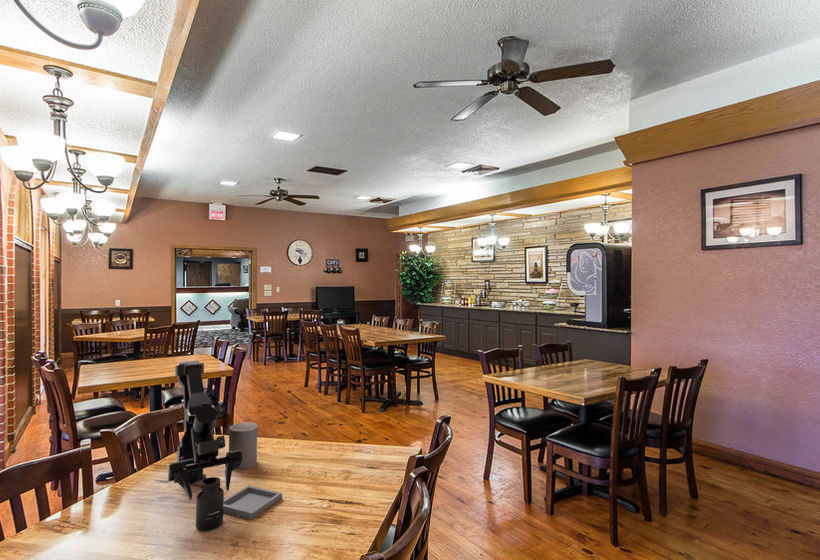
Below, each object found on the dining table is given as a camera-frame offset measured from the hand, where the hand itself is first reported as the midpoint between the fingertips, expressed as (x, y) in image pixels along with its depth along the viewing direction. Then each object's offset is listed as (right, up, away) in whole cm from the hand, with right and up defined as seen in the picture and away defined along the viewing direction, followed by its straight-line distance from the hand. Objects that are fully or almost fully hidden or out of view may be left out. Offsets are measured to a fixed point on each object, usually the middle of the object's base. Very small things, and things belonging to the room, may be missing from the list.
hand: (209, 494), depth 121 cm
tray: (+7, -8, +11) cm, 15 cm away
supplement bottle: (0, -8, 0) cm, 8 cm away
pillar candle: (-6, -9, +40) cm, 41 cm away
